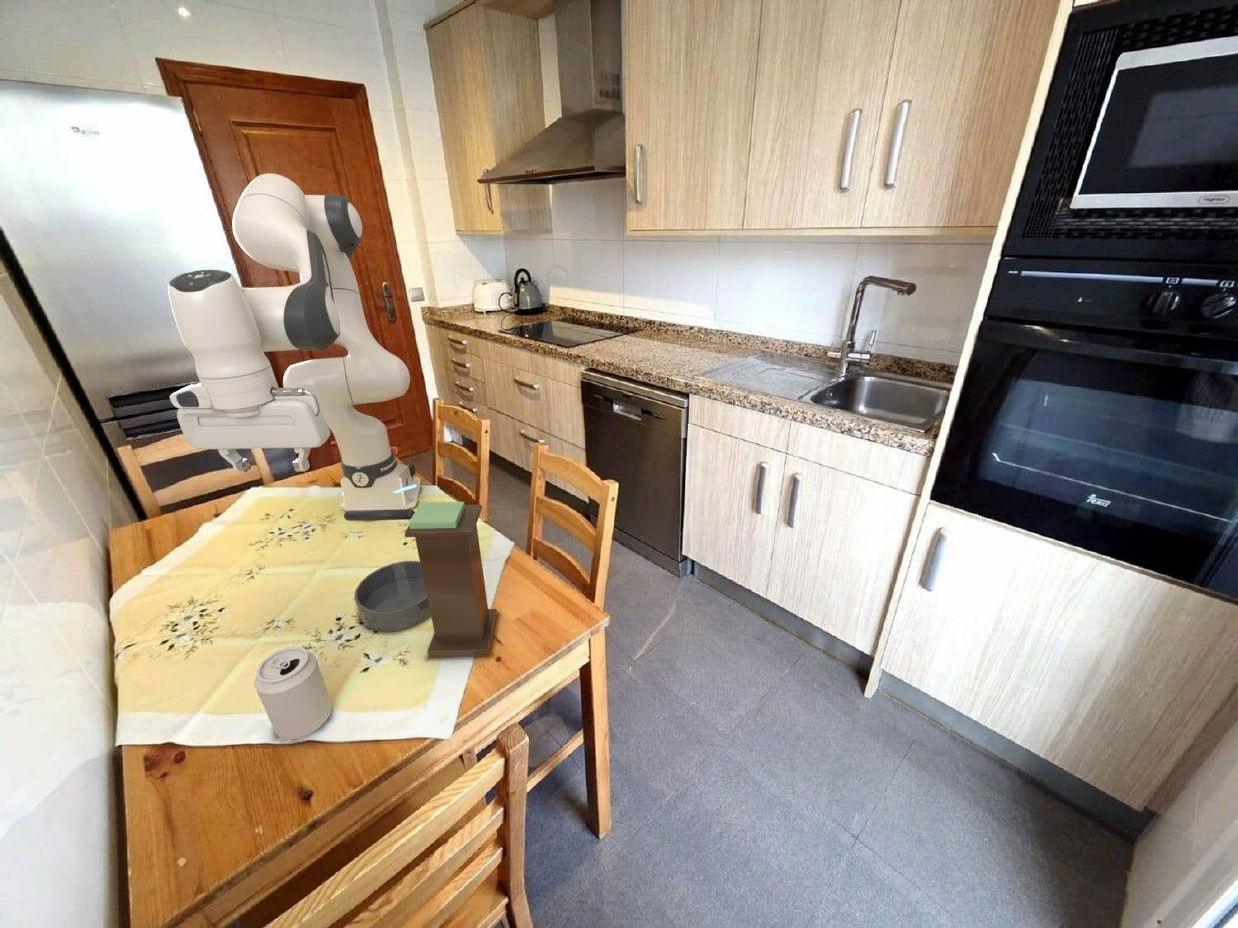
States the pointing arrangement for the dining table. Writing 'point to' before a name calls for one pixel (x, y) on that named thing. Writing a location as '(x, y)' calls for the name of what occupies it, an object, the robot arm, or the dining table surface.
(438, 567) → the stand
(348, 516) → the spatula
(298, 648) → the can
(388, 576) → the pan
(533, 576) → the dining table surface
